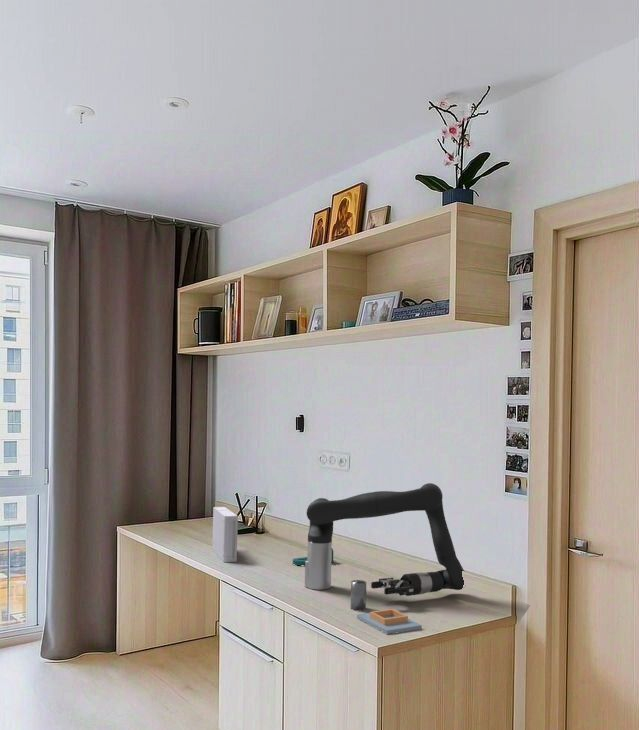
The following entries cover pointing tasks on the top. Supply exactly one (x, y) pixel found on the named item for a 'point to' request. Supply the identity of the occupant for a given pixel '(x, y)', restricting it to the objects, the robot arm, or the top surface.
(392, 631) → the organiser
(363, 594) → the grey capped cylinder
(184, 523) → the top surface
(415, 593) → the robot arm
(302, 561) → the bracket
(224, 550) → the game console
